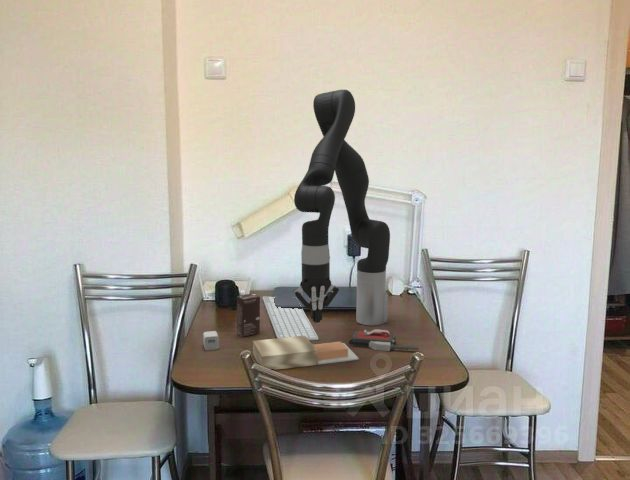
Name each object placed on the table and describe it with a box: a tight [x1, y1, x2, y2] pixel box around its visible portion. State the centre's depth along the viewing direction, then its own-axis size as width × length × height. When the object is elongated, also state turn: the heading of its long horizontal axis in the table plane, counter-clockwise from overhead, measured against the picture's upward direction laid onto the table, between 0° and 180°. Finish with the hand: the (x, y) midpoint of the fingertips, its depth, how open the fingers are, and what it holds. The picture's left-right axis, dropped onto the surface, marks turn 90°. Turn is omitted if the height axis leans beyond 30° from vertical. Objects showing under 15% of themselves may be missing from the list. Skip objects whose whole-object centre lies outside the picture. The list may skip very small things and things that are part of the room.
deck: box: [252, 336, 318, 371], centre depth 164 cm, size 15×12×4 cm
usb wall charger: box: [202, 330, 220, 351], centre depth 174 cm, size 4×7×4 cm, turn 15°
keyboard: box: [262, 295, 319, 342], centre depth 198 cm, size 44×12×2 cm, turn 11°
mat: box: [318, 342, 360, 365], centre depth 168 cm, size 12×12×1 cm
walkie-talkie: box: [348, 328, 419, 352], centre depth 174 cm, size 9×4×20 cm
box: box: [236, 293, 261, 338], centre depth 183 cm, size 6×4×12 cm
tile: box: [313, 341, 349, 360], centre depth 166 cm, size 9×6×2 cm, turn 108°
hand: (316, 321), depth 164 cm, fingers closed
